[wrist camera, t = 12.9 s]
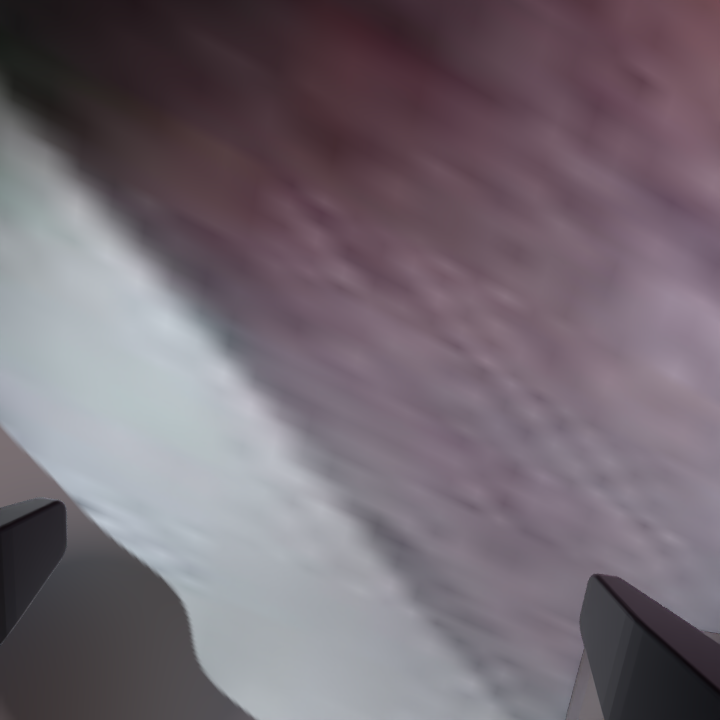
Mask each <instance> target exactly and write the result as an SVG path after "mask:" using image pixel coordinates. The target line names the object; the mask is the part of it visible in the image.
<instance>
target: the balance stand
mask: <svg viewBox="0 0 720 720" xmlns="http://www.w3.org/2000/svg"><path fill="white" fill-rule="evenodd" d="M701 632H703V633H704V634H706V635H707V636H709V637H710V638H712V639H713V640H715V641H716V642H718V643H719V644H720V634H718V633H711V632H705V631H701ZM566 720H604V718H603V715H602V711H601V707H600V704H599V700H598V696H597V692H596V689H595V685H594V681H593V677H592V673H591V670H590V666H589V662H588V658H587V654H586V651H585V647H584V651H583V655H582V659H581V663H580V666H579V670H578V674H577V678H576V682H575V685H574V689H573V693H572V697H571V701H570V704H569V708H568V712H567V716H566Z"/></svg>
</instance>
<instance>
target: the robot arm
mask: <svg viewBox="0 0 720 720" xmlns="http://www.w3.org/2000/svg"><path fill="white" fill-rule="evenodd" d="M66 547H67V512H66V506H65V504H64V503H63V501H61V500H57V499H50V498H42V497H39V498H35V499H31V500H27V501H23V502H20V503H16V504H12V505H9V506H5V507H1V508H0V646H1V644H2V643H3V642H4V641H5V639H6V638H7V637H8V635H9V634H10V633H11V631H12V630H13V628H14V627H15V626H16V624H17V623H18V621H19V620H20V618H21V617H22V616H23V614H24V613H25V611H26V610H27V609H28V607H29V606H30V604H31V603H32V601H33V600H34V598H35V597H36V596H37V594H38V593H39V591H40V590H41V588H42V587H43V585H44V584H45V583H46V581H47V580H48V578H49V577H50V575H51V574H52V572H53V571H54V569H55V568H56V566H57V565H58V564H59V562H60V561H61V559H62V558H63V556H64V553H65V551H66ZM580 631H581V636H582V639H583V643H584V647H585V651H586V654H587V658H588V662H589V666H590V670H591V673H592V677H593V681H594V685H595V689H596V692H597V696H598V700H599V704H600V707H601V711H602V715H603V718H604V720H720V644H719V643H718V642H716V641H715V640H713V639H712V638H710V637H709V636H707V635H706V634H704V633H703V632H701V631H700V630H698V629H697V628H695V627H694V626H692V625H691V624H689V623H688V622H686V621H685V620H683V619H682V618H680V617H679V616H677V615H676V614H674V613H673V612H671V611H670V610H668V609H667V608H665V607H663V606H662V605H660V604H659V603H657V602H656V601H654V600H653V599H651V598H650V597H648V596H647V595H645V594H644V593H642V592H641V591H639V590H638V589H636V588H635V587H633V586H632V585H630V584H629V583H627V582H626V581H624V580H623V579H621V578H619V577H617V576H611V575H604V574H593V575H592V576H591V577H590V579H589V581H588V584H587V588H586V593H585V597H584V601H583V605H582V610H581V614H580Z"/></svg>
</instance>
